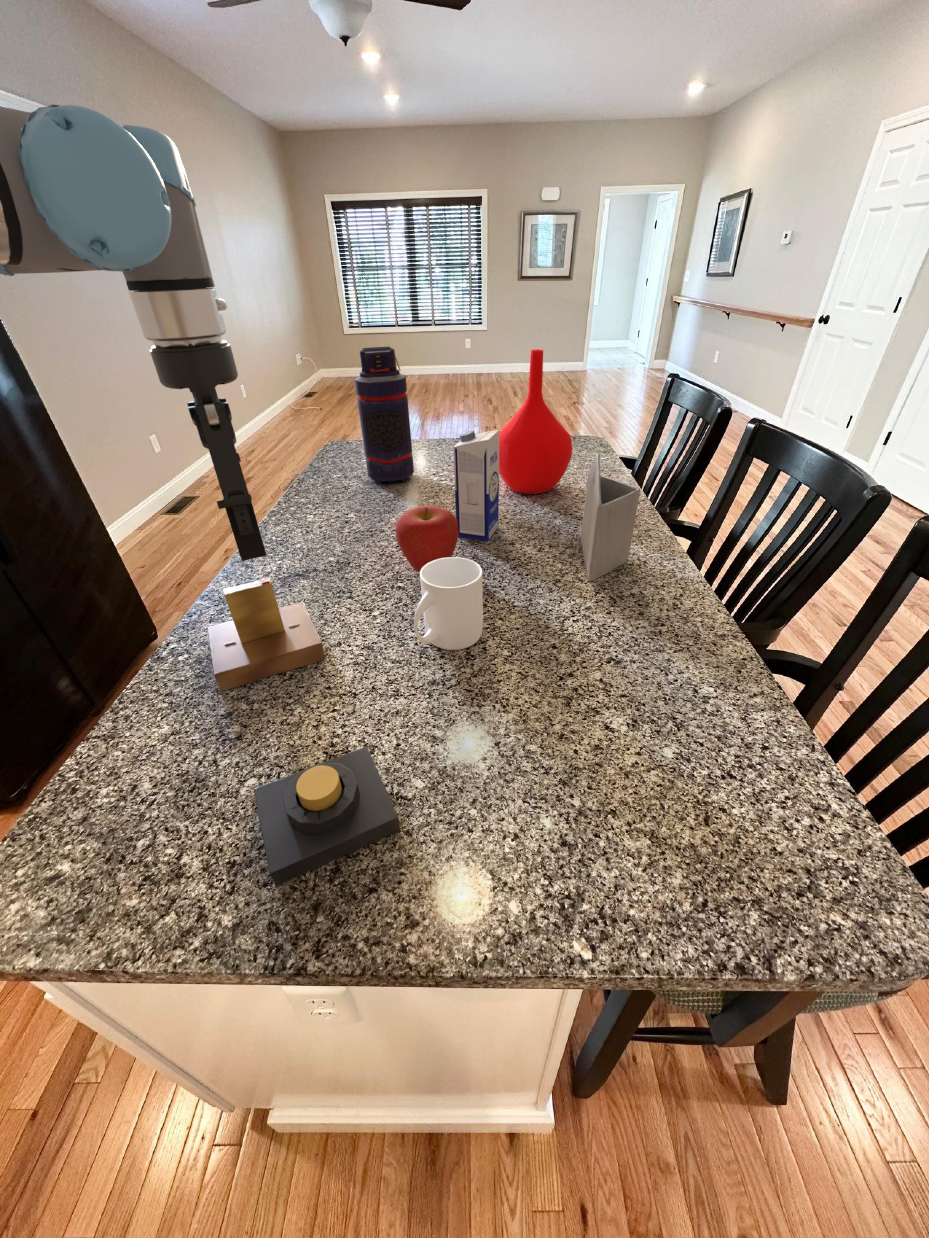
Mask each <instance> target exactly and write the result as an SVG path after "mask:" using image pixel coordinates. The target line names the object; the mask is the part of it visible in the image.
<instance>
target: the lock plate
mask: <svg viewBox="0 0 929 1238" xmlns="http://www.w3.org/2000/svg"><path fill="white" fill-rule="evenodd" d="M278 608H279V611H280V615H281V618H282V622H283V625H284V629H285V631H283V632H280V633H276V634H272V635H269V636H265V637H262V638H258V639H255V640H251V641H247V642H244V643H241V641H240V638H239V636H238V633H237V630H236V627H235V624H234V621H233V619H231V620H228V621H224V622H220V623H216V624H213V625H209V626H207V627H206V629H207V630H206V631H207V636H208V644H209V651H210V658H211V665H212V671H213V676H214V679H215V681H216V683H217V686H218V689H219V691H220V692H225V691H227V690H231V689H234V688H238V687H240V686H244V685H247V684H250V683H254V682H257V681H260V680H263V679H266V678H270V677H273V676H276V675H281V674H283V673H286V672H289V671H291V670H292V671H293V670H296V669H299V668H302V667H305V666H309V665H312V664H316V663H319V662H322V661H325V660H326V655H325V651H324V647H323V642H322V640H321V638H320V636H319V633H318V631H317V629H316V627H315V624H314V622H313V620H312V618H311V616H310V614H309V611H308V609H307V606H306V603H305V602H304V601H300V602H296V603H292V604H289V605H285V606H280V607H278Z"/></svg>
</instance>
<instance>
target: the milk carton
mask: <svg viewBox="0 0 929 1238" xmlns="http://www.w3.org/2000/svg"><path fill="white" fill-rule="evenodd" d="M499 432H500V429H495V430H494V429H493V430H487V431H483V432H480V433H479V432H478V433H475V431H474V430H470V431H467V432H463V433H461V434H459V438H460V441H458V442H457V443H456V444H454V446H452V451H453V452H452V453H453V455H452V456H453V476H454V477H453V478H454V501H455V504H454V505H455V517H456V518H457V522H458V531H459V536H458V538H461V539H462V538H463V539H470V540H476V541H483V542H489V541H490V539H491V538H492V536H493V535H494V534H495V533H496V532H497V530H498V529H499V512H500V511H499V507H500V505H499V503H500V501H499V500H500V495H499V494H500V492H499V491H500V474H499Z"/></svg>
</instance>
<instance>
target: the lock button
mask: <svg viewBox="0 0 929 1238" xmlns="http://www.w3.org/2000/svg"><path fill="white" fill-rule="evenodd" d="M296 791H297V794H298V797H299V799H300V802H301V804H302V806H303V807H304V808H306V809H307V810H310V811H322V810H325V809H328V808H330V807H331V806H333V805H334V804H335V803H336V802H337V801H338V799H339V798H340V795H341V792H342V787H341V783H340V779H339V775H338V773H337V771H336V770H335V769H333V768H332V767H329V766H316V767H313V768H311V769H309V770H307V771H306V772H304V773H303V774H302V775H301V776H300V778H299V779H298V781H297V785H296Z"/></svg>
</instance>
